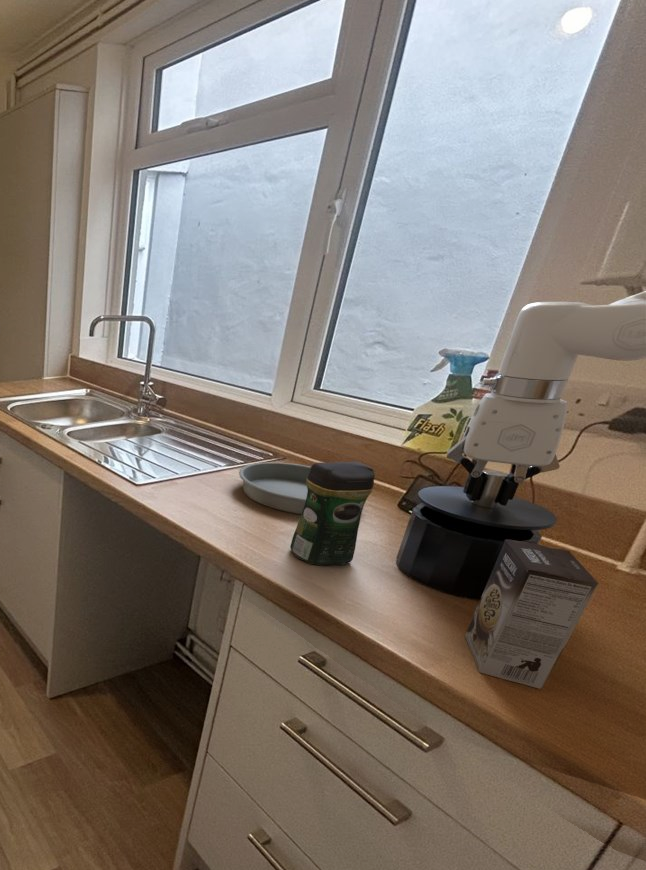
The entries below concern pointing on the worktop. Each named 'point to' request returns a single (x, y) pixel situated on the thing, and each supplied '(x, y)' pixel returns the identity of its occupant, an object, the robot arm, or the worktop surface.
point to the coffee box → (528, 612)
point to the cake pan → (276, 485)
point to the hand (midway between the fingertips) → (485, 499)
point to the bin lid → (488, 505)
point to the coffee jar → (332, 512)
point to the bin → (453, 551)
